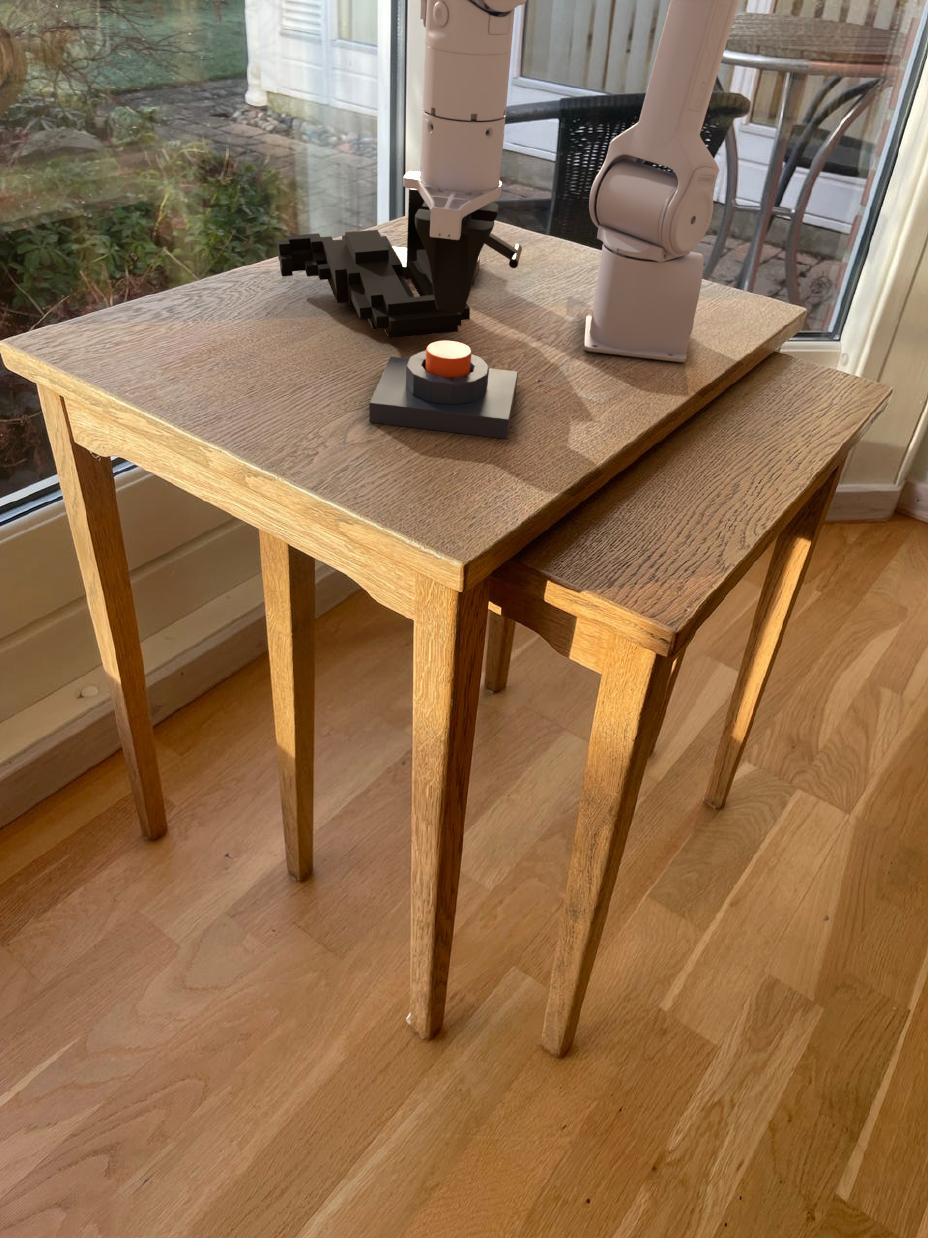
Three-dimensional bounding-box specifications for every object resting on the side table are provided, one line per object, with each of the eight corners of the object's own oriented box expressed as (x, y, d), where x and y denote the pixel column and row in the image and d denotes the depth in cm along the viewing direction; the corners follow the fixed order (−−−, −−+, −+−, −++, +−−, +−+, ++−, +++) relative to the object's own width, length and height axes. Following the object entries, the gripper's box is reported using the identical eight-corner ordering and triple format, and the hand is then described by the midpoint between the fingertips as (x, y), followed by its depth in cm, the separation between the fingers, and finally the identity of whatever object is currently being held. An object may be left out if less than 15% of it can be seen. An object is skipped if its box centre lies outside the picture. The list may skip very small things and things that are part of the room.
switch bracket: (479, 266, 108) (486, 182, 102) (472, 285, 103) (479, 198, 98) (389, 256, 108) (391, 171, 103) (378, 275, 104) (380, 187, 98)
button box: (516, 389, 85) (520, 351, 82) (506, 439, 78) (511, 398, 75) (389, 374, 85) (390, 335, 83) (369, 422, 78) (369, 381, 76)
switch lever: (515, 260, 107) (527, 241, 105) (511, 276, 103) (523, 256, 101) (419, 199, 104) (430, 178, 102) (412, 212, 100) (423, 191, 99)
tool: (302, 305, 83) (473, 289, 86) (273, 221, 98) (420, 211, 101) (308, 363, 87) (472, 346, 90) (279, 274, 102) (420, 262, 105)
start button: (472, 363, 81) (474, 342, 80) (467, 382, 78) (468, 361, 77) (429, 358, 81) (430, 337, 80) (422, 376, 78) (423, 355, 77)
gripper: (423, 86, 74) (415, 268, 82) (387, 129, 62) (383, 336, 71) (516, 95, 73) (500, 278, 82) (498, 141, 62) (480, 347, 70)
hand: (451, 305), depth 76 cm, fingers closed
